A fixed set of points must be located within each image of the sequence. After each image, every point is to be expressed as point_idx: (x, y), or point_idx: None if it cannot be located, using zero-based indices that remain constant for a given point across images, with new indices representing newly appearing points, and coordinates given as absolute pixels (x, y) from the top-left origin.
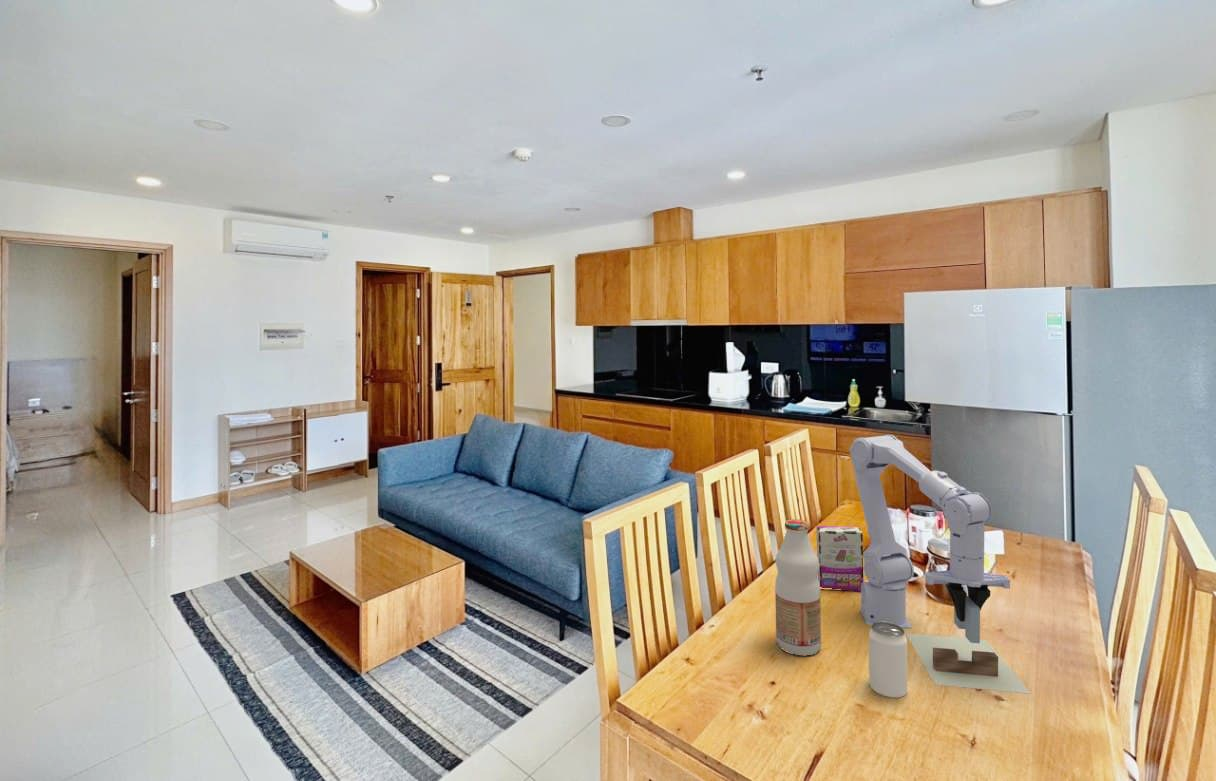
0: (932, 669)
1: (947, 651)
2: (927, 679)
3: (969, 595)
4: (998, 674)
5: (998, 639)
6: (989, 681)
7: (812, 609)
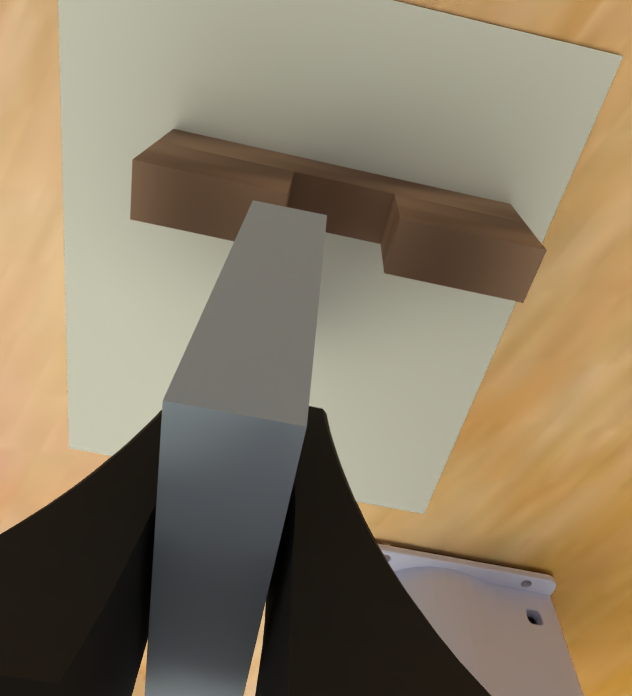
0: None
1: (455, 250)
2: (610, 132)
3: (130, 677)
4: None
5: (7, 450)
6: (252, 78)
7: None
